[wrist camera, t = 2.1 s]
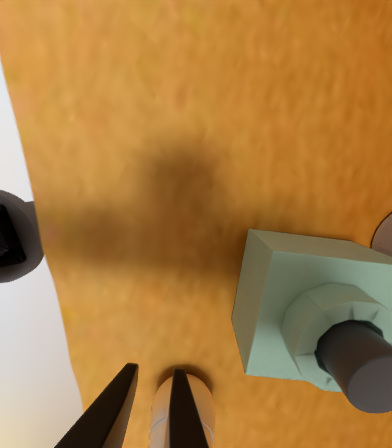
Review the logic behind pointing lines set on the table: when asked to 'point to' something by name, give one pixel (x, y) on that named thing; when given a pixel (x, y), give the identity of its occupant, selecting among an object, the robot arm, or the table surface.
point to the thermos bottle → (384, 237)
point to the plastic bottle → (162, 406)
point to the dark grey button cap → (359, 364)
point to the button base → (305, 301)
